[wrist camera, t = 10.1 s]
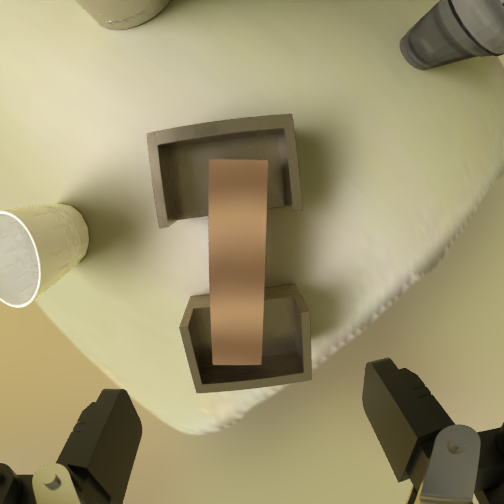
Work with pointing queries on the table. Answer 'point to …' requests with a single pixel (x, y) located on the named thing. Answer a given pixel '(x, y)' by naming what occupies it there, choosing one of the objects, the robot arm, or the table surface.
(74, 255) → the white cup
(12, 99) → the table surface
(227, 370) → the bracket
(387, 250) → the table surface
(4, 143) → the table surface
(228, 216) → the rail
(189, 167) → the bracket
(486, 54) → the beverage cup
